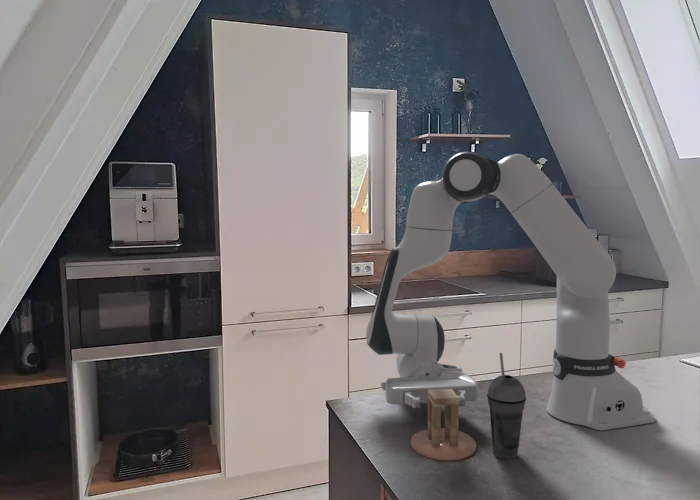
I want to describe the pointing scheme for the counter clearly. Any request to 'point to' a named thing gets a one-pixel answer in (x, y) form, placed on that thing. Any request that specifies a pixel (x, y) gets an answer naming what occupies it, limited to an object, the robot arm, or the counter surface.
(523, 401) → the beverage cup
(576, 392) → the robot arm
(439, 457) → the coaster
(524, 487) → the counter surface
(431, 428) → the stool
